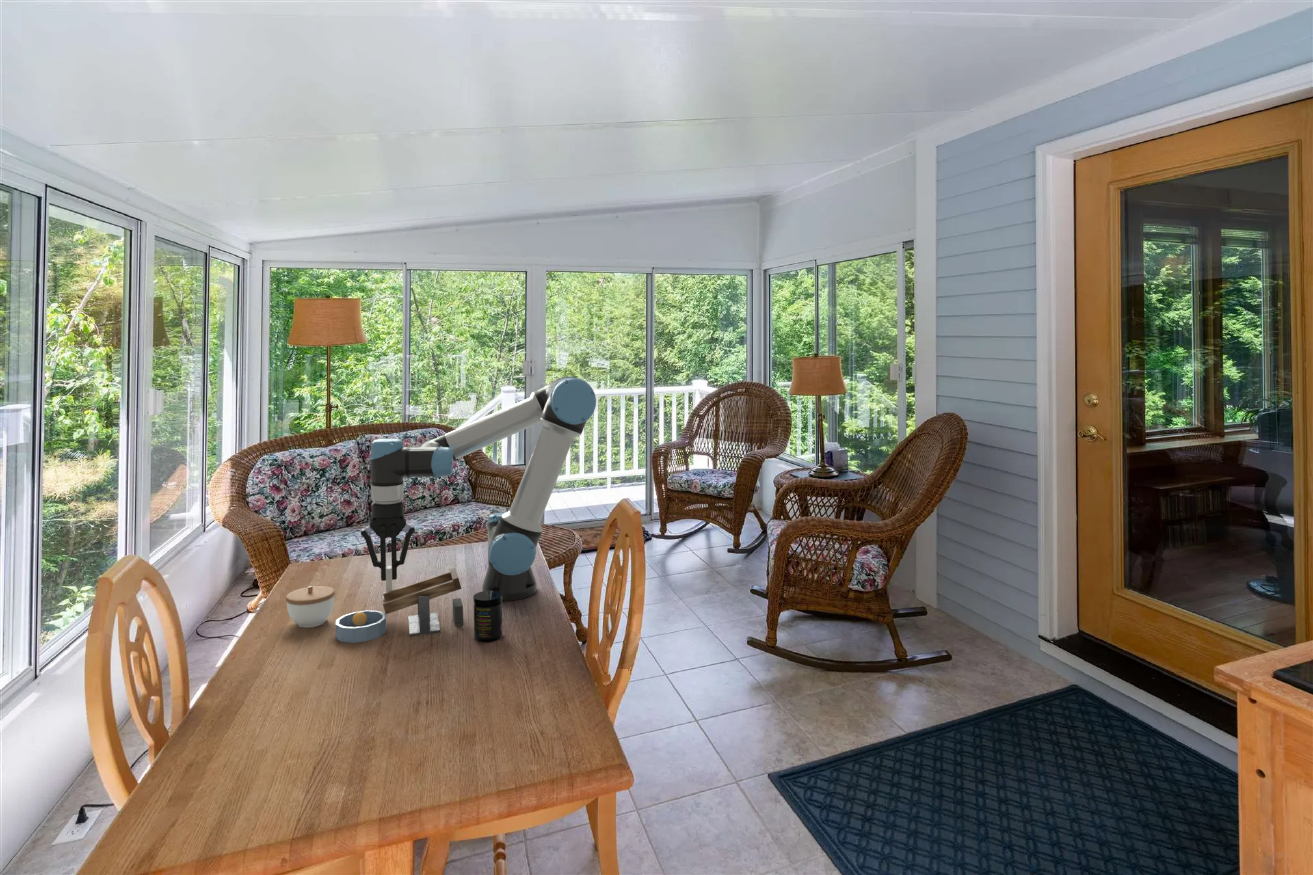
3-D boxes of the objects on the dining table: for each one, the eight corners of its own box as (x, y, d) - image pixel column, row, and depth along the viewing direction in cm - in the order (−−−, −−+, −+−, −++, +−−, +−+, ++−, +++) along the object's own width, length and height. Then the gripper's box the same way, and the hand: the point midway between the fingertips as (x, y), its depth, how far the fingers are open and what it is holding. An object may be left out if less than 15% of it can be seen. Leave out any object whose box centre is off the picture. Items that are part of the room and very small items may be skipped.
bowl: (386, 621, 168) (385, 608, 167) (386, 638, 157) (385, 624, 157) (338, 627, 163) (337, 613, 163) (334, 645, 153) (334, 630, 153)
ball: (369, 618, 162) (363, 607, 161) (369, 623, 159) (363, 612, 158) (356, 625, 161) (350, 614, 160) (355, 630, 158) (349, 619, 158)
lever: (456, 572, 177) (453, 562, 176) (461, 588, 164) (458, 577, 164) (384, 596, 170) (380, 585, 170) (383, 615, 158) (380, 603, 157)
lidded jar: (315, 633, 160) (313, 595, 159) (277, 629, 162) (275, 592, 161) (344, 616, 170) (343, 581, 169) (308, 613, 172) (306, 578, 171)
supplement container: (503, 641, 157) (502, 599, 155) (473, 644, 155) (473, 601, 154) (502, 630, 163) (501, 589, 162) (473, 633, 161) (473, 591, 160)
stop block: (460, 615, 172) (460, 598, 171) (463, 624, 166) (463, 605, 166) (452, 616, 171) (452, 598, 171) (455, 625, 166) (454, 606, 165)
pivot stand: (437, 614, 172) (436, 580, 171) (440, 632, 161) (439, 595, 160) (408, 618, 170) (407, 583, 169) (409, 636, 159) (408, 599, 158)
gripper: (414, 496, 172) (415, 585, 175) (359, 499, 167) (361, 589, 170) (415, 502, 165) (416, 594, 168) (358, 505, 160) (360, 599, 163)
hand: (389, 592), depth 169 cm, fingers closed
